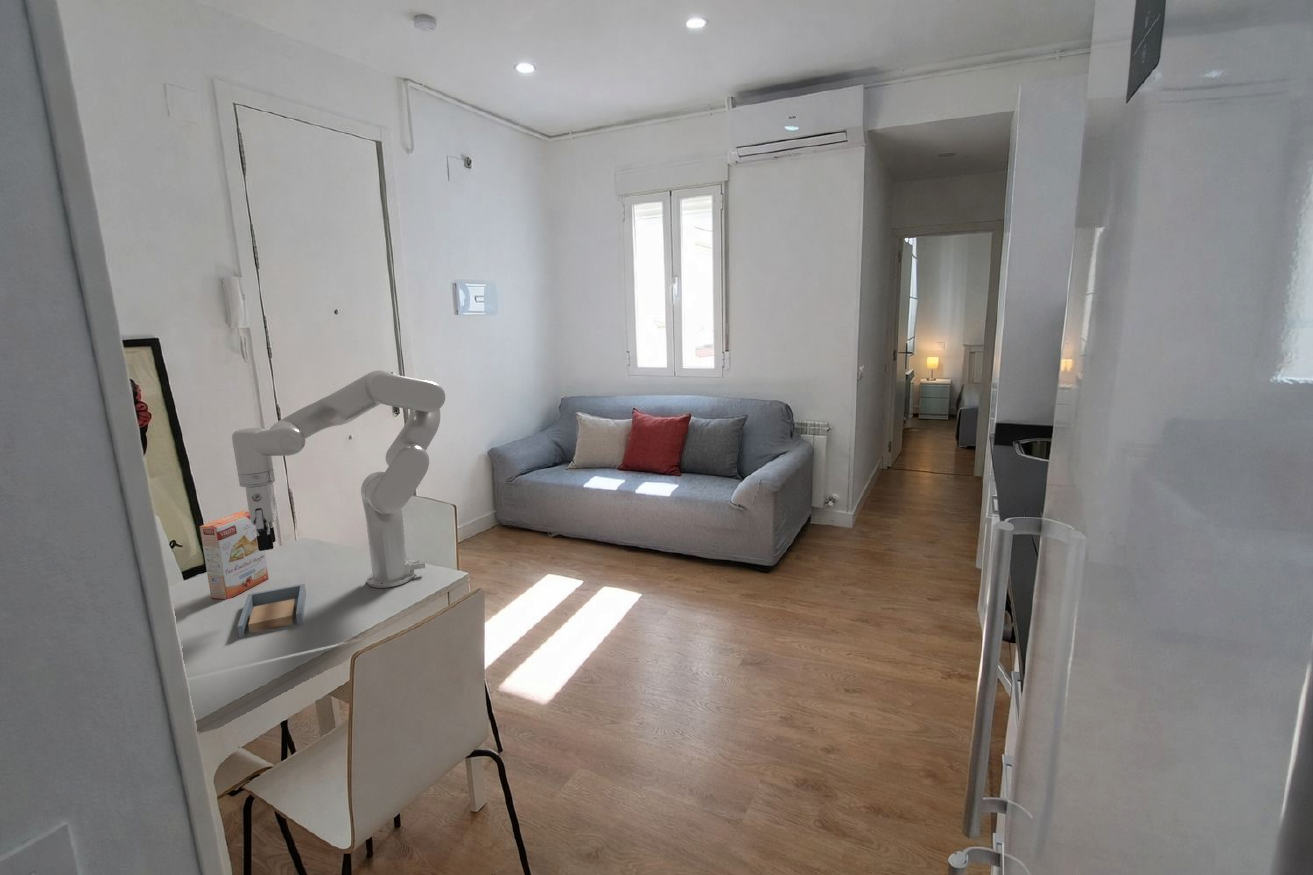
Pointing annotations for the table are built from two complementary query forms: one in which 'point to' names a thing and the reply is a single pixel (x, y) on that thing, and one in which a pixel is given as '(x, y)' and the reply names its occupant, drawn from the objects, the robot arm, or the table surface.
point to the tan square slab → (272, 616)
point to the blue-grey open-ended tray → (267, 598)
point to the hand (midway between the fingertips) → (267, 545)
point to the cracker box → (232, 555)
